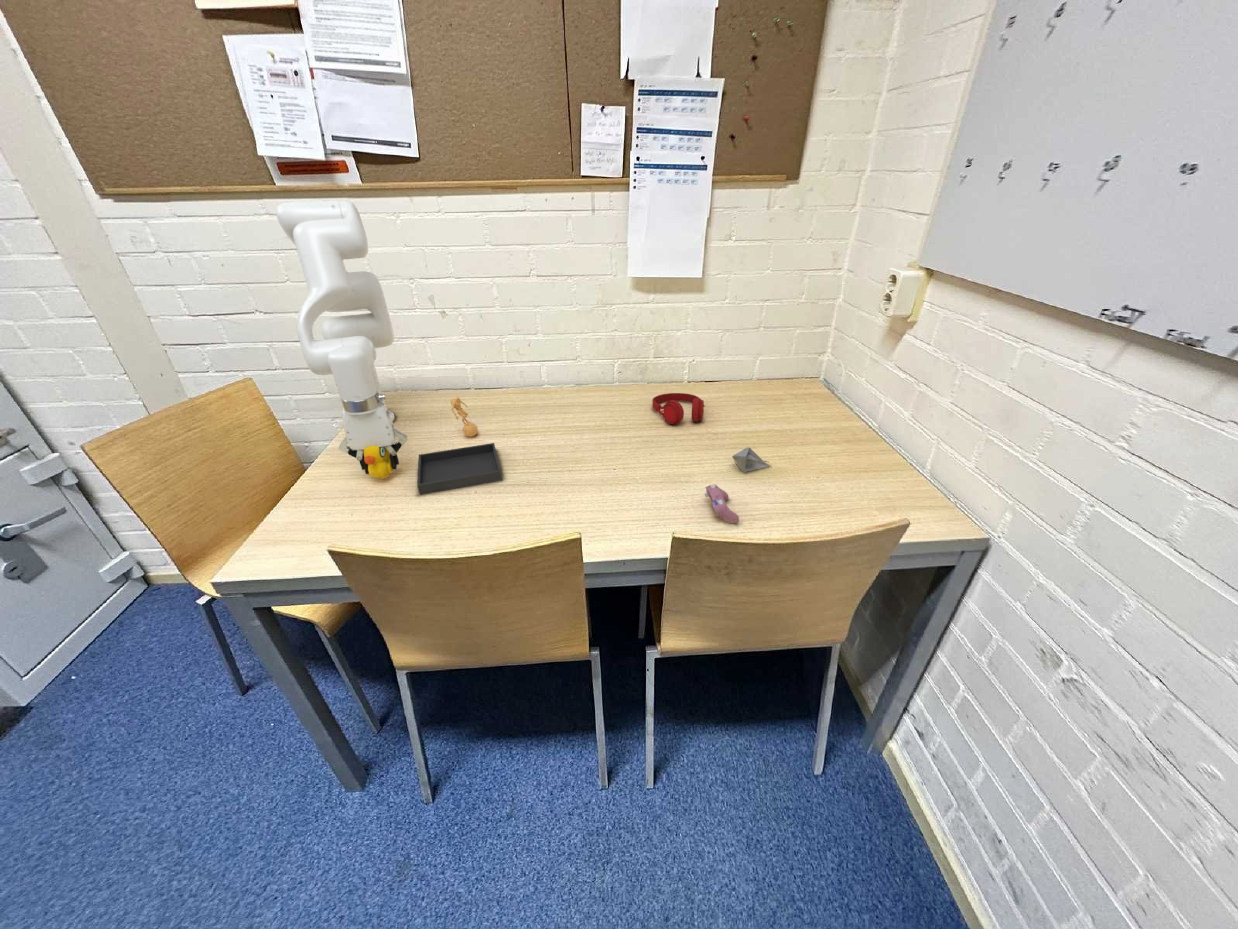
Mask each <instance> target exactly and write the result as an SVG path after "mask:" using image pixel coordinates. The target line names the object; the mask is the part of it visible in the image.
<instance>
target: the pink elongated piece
mask: <svg viewBox="0 0 1238 929" xmlns="http://www.w3.org/2000/svg"><path fill="white" fill-rule="evenodd" d="M704 496H705V498H709V499H710V500H711V505H712V509H713V510H714V514H715V515H716V516H717V517H718V518H720V519H721V520H723V521H725V522H727V523H730V524H737V523H738V522H739V521H740V516H739V515H738V513H736V512H734V511H732V510H731V509H730V508H729V507H728V505H727V502H726V501H728V499H729V494H728V492H727V491H725V490H723V489H722V488H720V487H719V486H718V485H717V484H715V483H714V484H709V485H707V486H705V492H704Z"/></svg>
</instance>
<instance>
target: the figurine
mask: <svg viewBox="0 0 1238 929" xmlns="http://www.w3.org/2000/svg"><path fill="white" fill-rule="evenodd" d="M449 403H450V405H451V408H450V409H451V411H452V413H453V415H454V417H455V420H460V417H461V421H462V423H463V424H464V425H463V427H462V432H463V434H464V435H465V436H466V437H470V438H473V437H474V436H476V435H477V433H478V427H477V425H476V424H475V423H473V422H471V421H469V420H467V417H468V415H469V413H468V412H467V411H466V410H464V408H462V405H463V406H465V407H466V408H469V406H468V405H467V404H466V403H465V402H463V401H462V400H461V398H460V397H459V396H457V397H456V398H452V399H450V402H449ZM454 409H455V410H456V411H457V412H456V411H455V410H454ZM457 414H458V416H457ZM459 416H460V417H459Z"/></svg>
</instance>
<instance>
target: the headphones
mask: <svg viewBox="0 0 1238 929" xmlns="http://www.w3.org/2000/svg"><path fill="white" fill-rule="evenodd" d="M651 401H652V403H651V404H652V405H651V406H652V409H653V410H654V411H655V413H658V414H659V415H660V416H661V417H662V418H663V419H664V421H665V422H666V423H667V424H669V425H678V424H680V423H681V422H683V420H684V416H685V412H684V407H683V405H682V404H681V403H680V402H686V403H691V421H692V422H693V423H698V422H700V421H703V418H704V412H705V410H704V408H705V407H706V405H705V402H704V399H701V398H700V397H699V396H697V395H694V394H691V393H685V392H684V393H683V392H669V393H663V394H658V395H656V396H654V397H653V398H652V400H651ZM661 403H665V404H663V406H662V405H661Z"/></svg>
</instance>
